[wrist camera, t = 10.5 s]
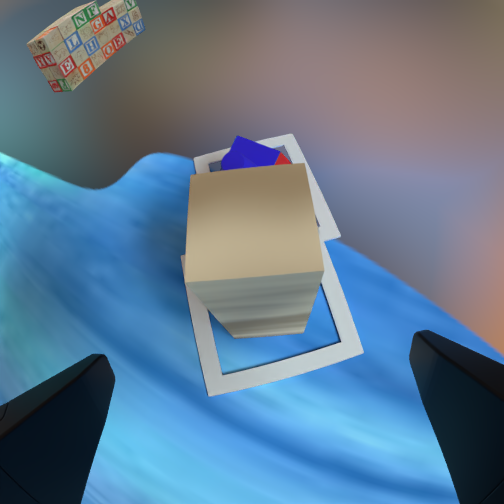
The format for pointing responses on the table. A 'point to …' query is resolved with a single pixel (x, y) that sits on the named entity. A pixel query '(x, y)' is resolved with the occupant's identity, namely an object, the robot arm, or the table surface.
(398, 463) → the table surface
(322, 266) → the beech pillar
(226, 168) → the toy building block
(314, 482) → the table surface
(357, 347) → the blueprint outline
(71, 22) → the stack of blocks
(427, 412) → the robot arm
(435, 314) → the table surface
